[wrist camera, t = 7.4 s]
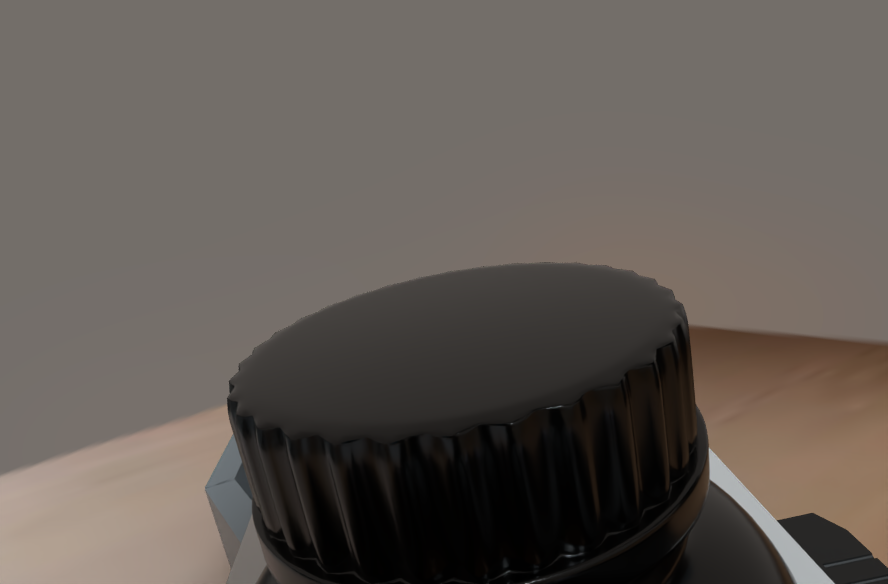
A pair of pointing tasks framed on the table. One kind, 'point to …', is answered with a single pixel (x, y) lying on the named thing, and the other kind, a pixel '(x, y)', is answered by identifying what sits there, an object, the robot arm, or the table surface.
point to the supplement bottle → (490, 438)
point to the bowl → (230, 499)
